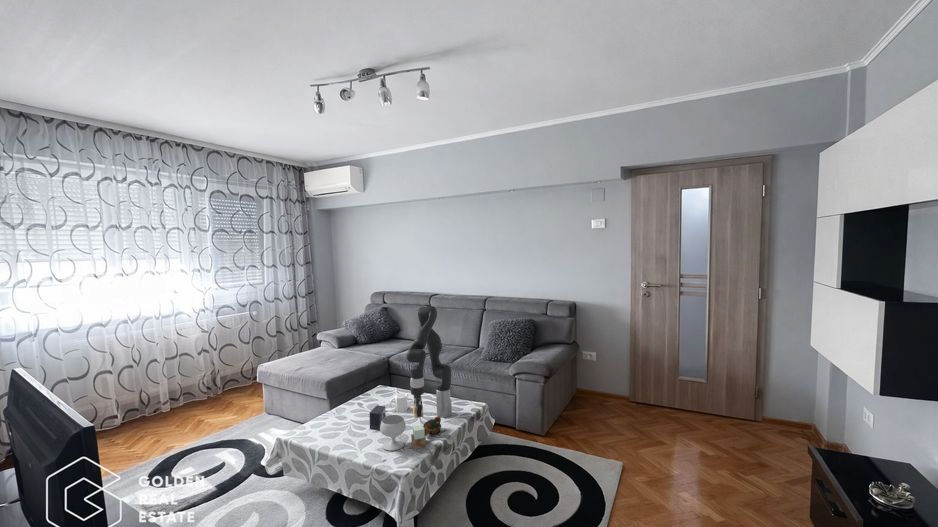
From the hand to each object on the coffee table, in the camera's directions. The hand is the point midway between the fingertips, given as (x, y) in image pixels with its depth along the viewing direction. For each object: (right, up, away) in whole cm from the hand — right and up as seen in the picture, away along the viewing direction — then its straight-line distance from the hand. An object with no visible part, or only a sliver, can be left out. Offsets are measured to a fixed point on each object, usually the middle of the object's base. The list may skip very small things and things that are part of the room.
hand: (418, 414), depth 215 cm
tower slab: (0, -18, +2) cm, 18 cm away
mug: (-19, -15, +45) cm, 51 cm away
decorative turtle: (+7, -17, +14) cm, 23 cm away
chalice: (-14, -18, +1) cm, 23 cm away
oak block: (0, -1, 0) cm, 1 cm away
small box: (-28, -17, +25) cm, 41 cm away
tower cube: (0, -13, +1) cm, 13 cm away
